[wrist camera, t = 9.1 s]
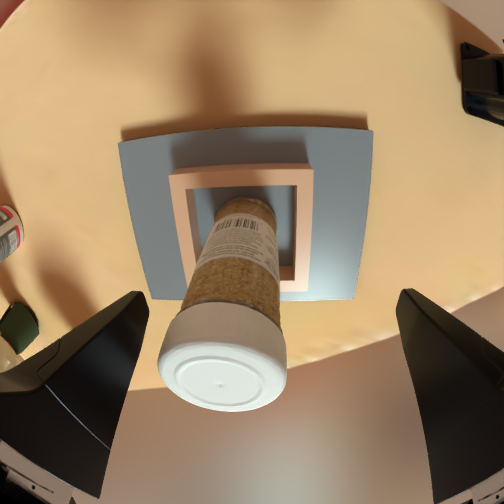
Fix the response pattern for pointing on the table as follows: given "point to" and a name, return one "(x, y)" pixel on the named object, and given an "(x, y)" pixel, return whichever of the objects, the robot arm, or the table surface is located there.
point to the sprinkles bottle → (230, 316)
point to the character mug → (15, 335)
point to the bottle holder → (256, 186)
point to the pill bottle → (9, 232)
